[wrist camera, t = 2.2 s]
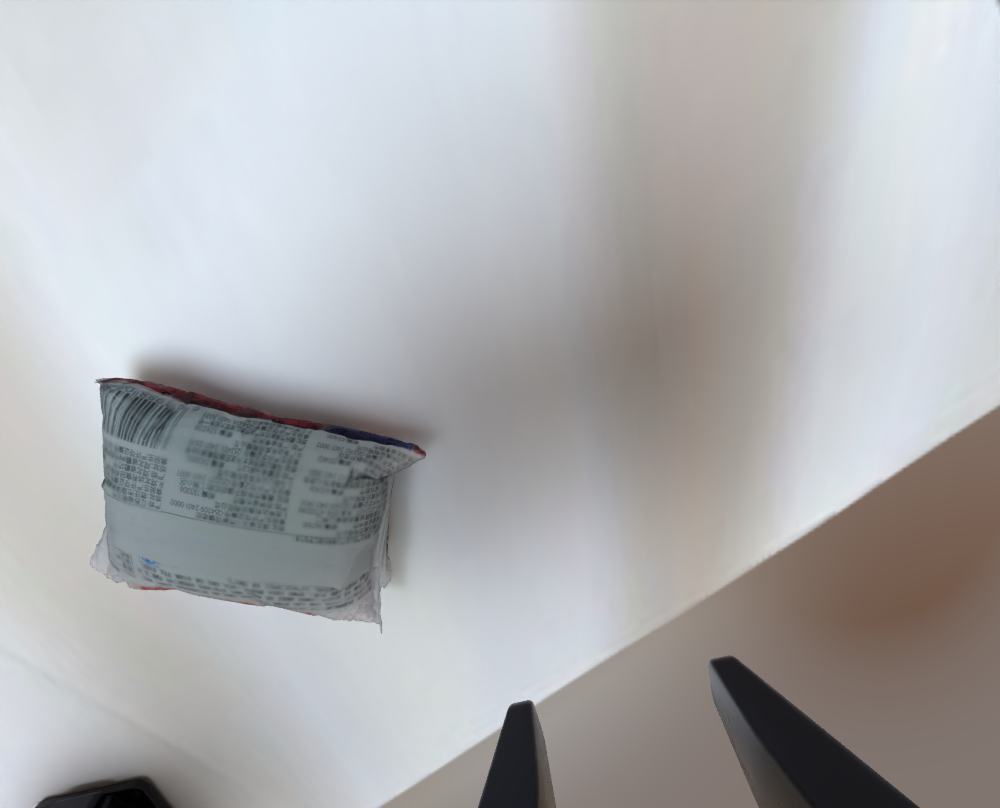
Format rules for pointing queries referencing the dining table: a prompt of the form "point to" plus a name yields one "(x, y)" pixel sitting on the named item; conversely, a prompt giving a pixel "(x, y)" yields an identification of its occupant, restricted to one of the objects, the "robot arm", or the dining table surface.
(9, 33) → the dining table surface
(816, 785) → the robot arm
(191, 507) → the packaged food
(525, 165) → the dining table surface
